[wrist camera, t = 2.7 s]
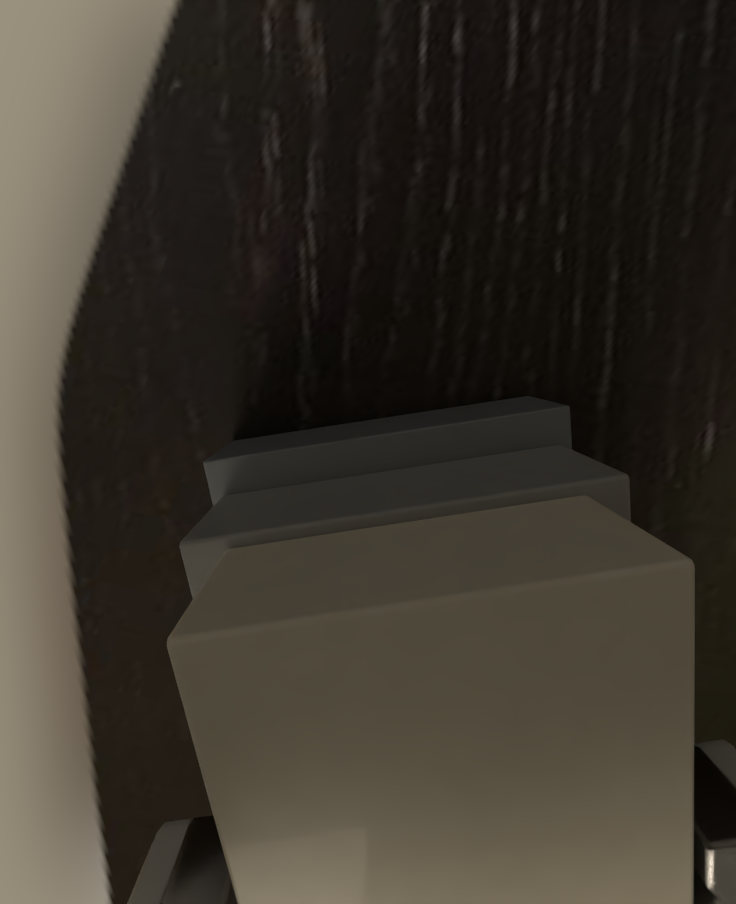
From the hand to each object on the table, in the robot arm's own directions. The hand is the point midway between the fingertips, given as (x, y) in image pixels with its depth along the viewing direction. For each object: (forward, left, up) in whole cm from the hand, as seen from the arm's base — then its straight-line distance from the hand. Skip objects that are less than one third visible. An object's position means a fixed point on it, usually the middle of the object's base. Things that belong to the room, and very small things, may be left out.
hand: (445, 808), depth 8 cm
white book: (0, 0, -1) cm, 1 cm away
